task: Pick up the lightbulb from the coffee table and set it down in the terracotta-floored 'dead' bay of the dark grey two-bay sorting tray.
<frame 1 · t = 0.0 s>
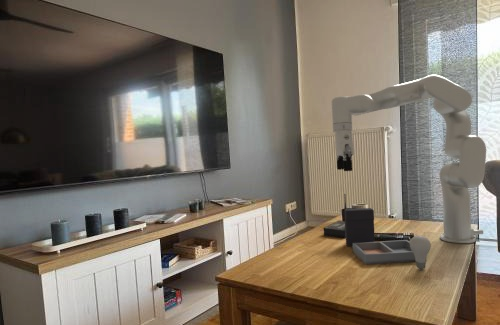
hand: (344, 170, 136), 31 cm above the table, tool pointing down, fingers open, 9 cm apart
sorting tray: (387, 256, 122), on the table
lightbulb: (421, 270, 108), on the table
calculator: (360, 245, 137), on the table
wireless controller: (343, 232, 159), on the table
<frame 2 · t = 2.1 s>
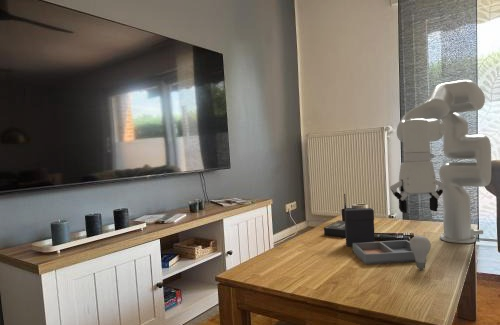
hand: (418, 211, 107), 19 cm above the table, tool pointing down, fingers open, 9 cm apart
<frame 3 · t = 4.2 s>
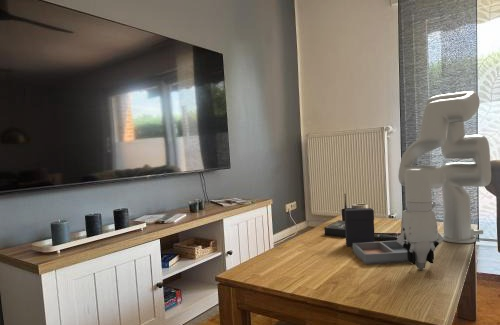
hand: (420, 261, 108), 2 cm above the table, tool pointing down, fingers closed on lightbulb, 5 cm apart
lightbulb: (421, 270, 108), on the table, touching gripper
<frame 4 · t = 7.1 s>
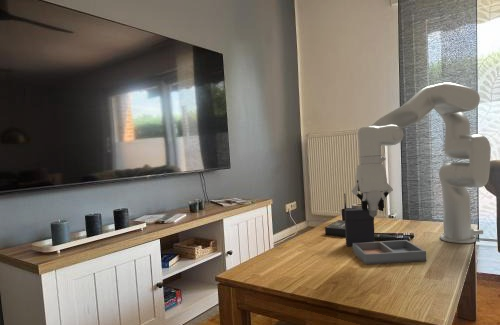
hand: (372, 210, 121), 17 cm above the table, tool pointing down, fingers closed on lightbulb, 5 cm apart
lightbulb: (373, 217, 121), point 15 cm above the table, touching gripper
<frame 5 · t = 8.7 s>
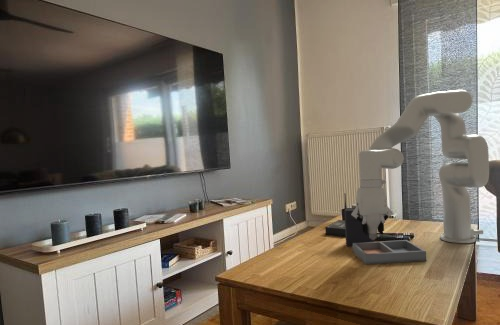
hand: (372, 233, 122), 9 cm above the table, tool pointing down, fingers closed on lightbulb, 5 cm apart
lightbulb: (373, 240, 122), point 6 cm above the table, touching gripper
when the fingers open (5 cm above the table, at t = 9.9 s): lightbulb drops 1 cm, resting on sorting tray.
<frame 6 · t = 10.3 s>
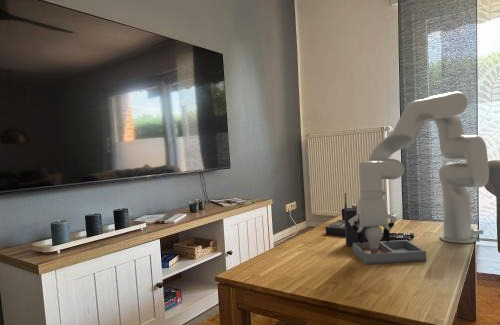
hand: (373, 241, 122), 6 cm above the table, tool pointing down, fingers open, 9 cm apart
lightbulb: (374, 255, 122), point 1 cm above the table, touching sorting tray
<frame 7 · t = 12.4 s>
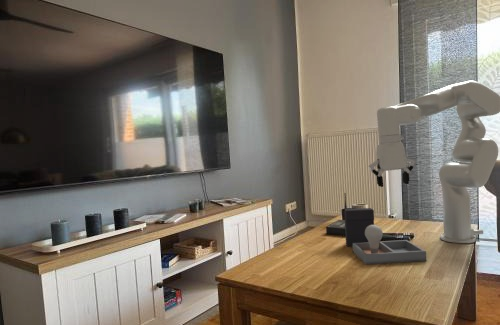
hand: (393, 185, 127), 25 cm above the table, tool pointing down, fingers open, 9 cm apart
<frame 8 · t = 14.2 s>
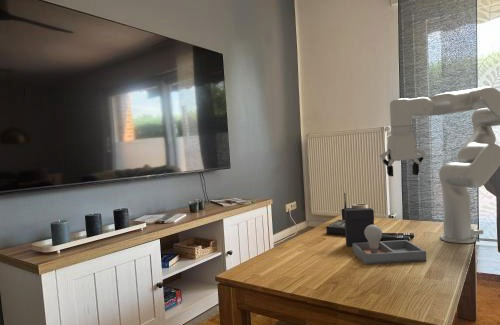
hand: (403, 175, 130), 28 cm above the table, tool pointing down, fingers open, 9 cm apart
at the end: lightbulb inside the target area on the sorting tray (0.5 cm from its centre), point 0.7 cm above the sorting tray's base; the gripper is holding nothing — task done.
